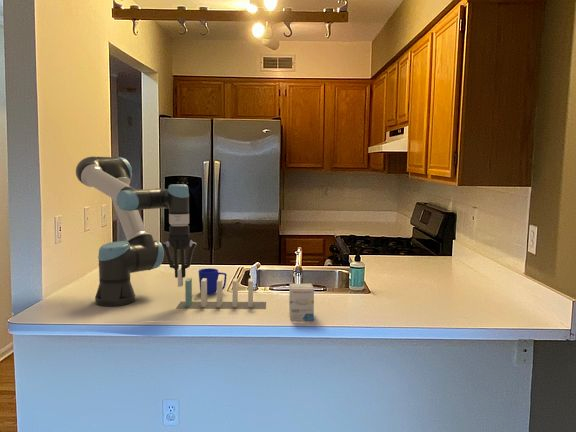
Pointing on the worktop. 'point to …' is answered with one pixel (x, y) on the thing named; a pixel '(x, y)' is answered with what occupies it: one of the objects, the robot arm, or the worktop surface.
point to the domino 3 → (235, 292)
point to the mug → (211, 279)
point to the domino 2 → (219, 292)
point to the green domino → (188, 292)
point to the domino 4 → (250, 293)
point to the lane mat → (224, 305)
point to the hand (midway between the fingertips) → (180, 285)
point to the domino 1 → (204, 292)
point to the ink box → (301, 302)
